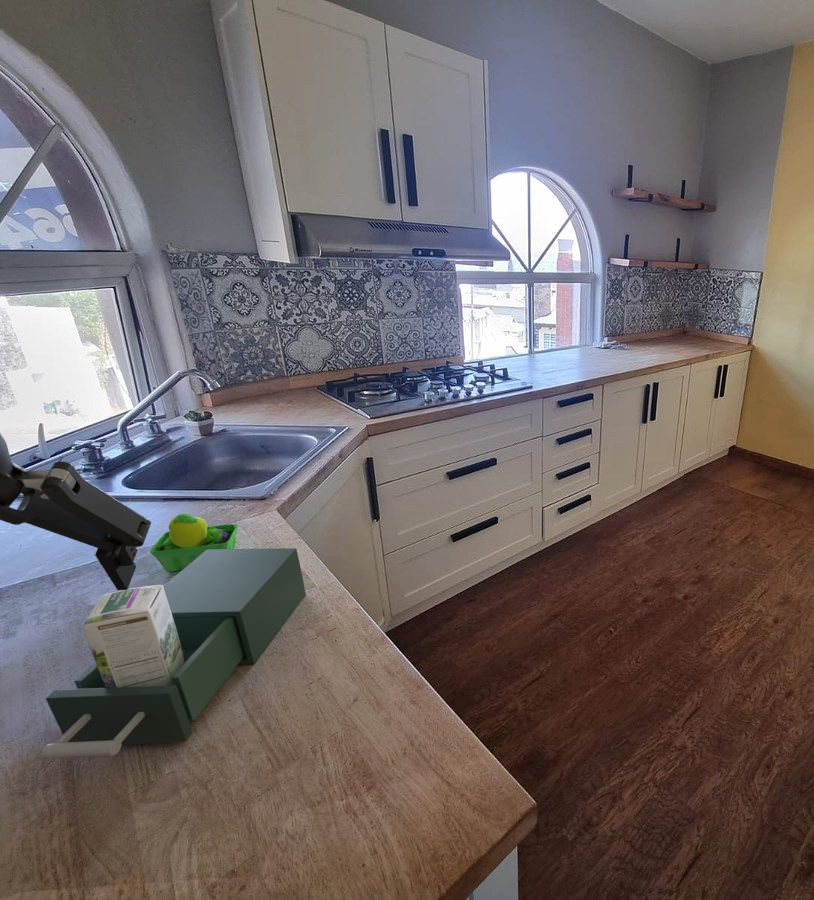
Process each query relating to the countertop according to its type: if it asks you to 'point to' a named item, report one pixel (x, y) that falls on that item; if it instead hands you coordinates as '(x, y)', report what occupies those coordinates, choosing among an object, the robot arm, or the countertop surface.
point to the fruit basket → (191, 541)
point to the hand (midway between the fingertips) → (36, 584)
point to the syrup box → (134, 638)
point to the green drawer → (146, 696)
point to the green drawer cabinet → (241, 592)
